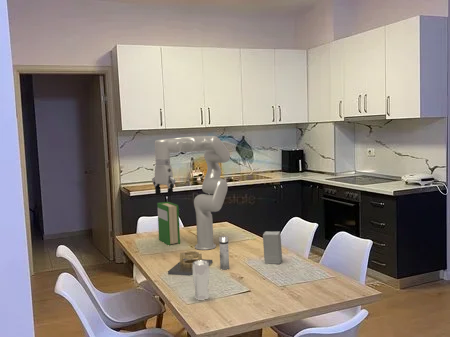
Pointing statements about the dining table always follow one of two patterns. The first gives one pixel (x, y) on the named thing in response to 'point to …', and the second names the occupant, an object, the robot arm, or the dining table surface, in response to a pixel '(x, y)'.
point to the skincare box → (272, 247)
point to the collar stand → (187, 263)
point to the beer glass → (201, 279)
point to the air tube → (224, 252)
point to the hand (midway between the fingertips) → (164, 194)
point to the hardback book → (168, 223)
